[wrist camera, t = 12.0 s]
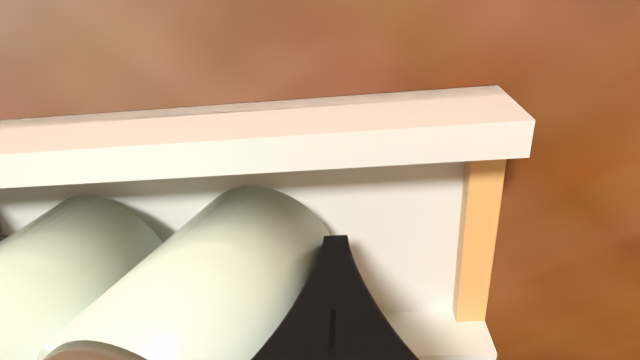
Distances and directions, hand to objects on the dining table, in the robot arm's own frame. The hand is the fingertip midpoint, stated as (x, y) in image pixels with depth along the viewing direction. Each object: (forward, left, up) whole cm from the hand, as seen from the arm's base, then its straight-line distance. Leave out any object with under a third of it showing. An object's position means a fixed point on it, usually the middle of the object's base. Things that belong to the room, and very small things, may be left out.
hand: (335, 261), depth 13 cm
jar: (0, +2, -1) cm, 3 cm away
